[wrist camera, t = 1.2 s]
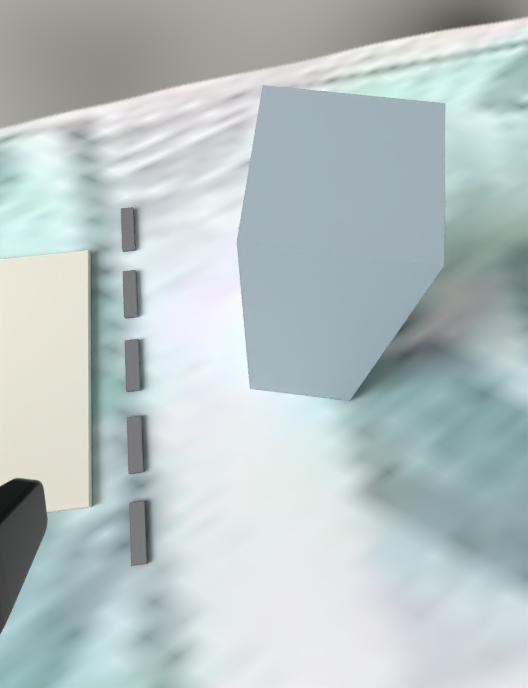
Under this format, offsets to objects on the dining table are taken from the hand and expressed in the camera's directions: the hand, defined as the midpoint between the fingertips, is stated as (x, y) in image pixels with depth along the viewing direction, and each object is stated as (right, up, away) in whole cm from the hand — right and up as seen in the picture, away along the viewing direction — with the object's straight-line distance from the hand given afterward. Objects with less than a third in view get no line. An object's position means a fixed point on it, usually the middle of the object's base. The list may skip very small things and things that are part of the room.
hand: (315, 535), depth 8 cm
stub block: (+1, +3, +15) cm, 16 cm away
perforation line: (-7, +2, +15) cm, 17 cm away
